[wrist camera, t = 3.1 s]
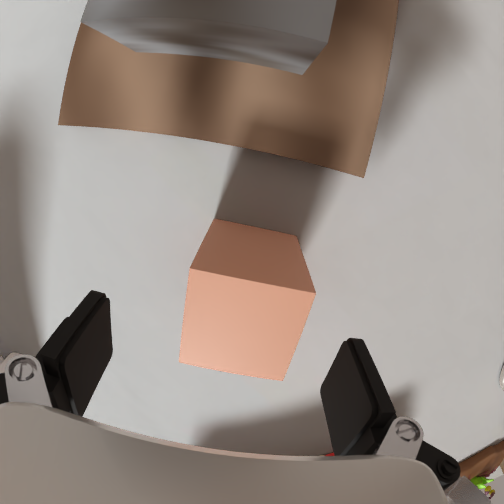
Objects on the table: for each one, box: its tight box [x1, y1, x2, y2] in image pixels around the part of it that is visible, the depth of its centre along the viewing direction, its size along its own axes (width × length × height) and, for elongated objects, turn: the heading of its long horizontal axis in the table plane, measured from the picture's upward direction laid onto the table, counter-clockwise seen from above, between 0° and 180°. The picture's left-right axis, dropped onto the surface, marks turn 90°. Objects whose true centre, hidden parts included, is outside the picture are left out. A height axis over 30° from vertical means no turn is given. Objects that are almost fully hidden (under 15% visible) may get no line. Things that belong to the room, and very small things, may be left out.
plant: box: [459, 440, 504, 500], centre depth 31 cm, size 20×20×11 cm
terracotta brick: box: [179, 219, 316, 381], centre depth 16 cm, size 5×5×7 cm
